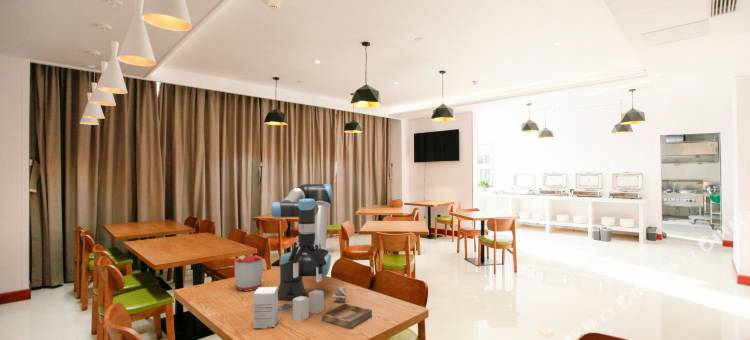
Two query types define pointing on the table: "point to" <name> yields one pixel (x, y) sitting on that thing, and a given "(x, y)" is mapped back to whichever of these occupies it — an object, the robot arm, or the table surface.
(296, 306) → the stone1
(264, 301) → the supplement box
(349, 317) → the brown wooden tray
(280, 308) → the trowel
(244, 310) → the table surface
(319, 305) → the white upright block piece
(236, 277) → the grey bucket
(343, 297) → the architectural model
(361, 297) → the table surface
